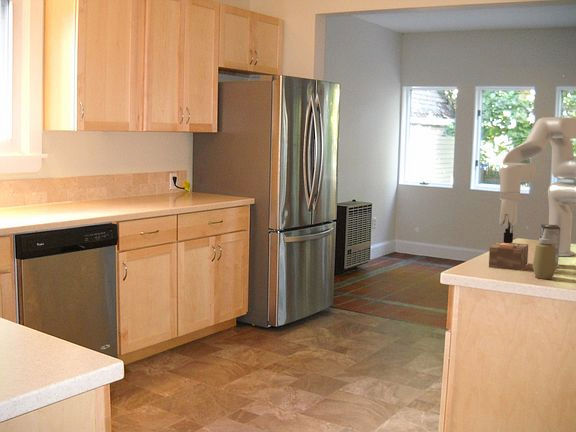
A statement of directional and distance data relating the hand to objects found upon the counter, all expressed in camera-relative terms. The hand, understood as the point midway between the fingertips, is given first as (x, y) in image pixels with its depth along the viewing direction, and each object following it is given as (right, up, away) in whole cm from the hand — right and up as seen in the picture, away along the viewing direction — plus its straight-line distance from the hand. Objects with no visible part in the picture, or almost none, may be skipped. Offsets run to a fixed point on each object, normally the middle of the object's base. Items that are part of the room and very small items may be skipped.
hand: (508, 242), depth 283 cm
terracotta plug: (0, -7, +1) cm, 7 cm away
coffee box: (+18, -10, +6) cm, 21 cm away
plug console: (+2, -9, +4) cm, 10 cm away
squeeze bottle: (+7, -12, -19) cm, 24 cm away
